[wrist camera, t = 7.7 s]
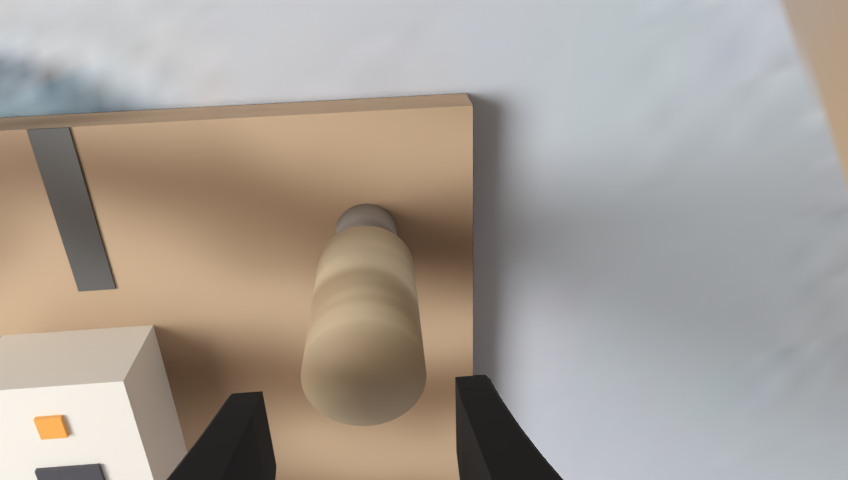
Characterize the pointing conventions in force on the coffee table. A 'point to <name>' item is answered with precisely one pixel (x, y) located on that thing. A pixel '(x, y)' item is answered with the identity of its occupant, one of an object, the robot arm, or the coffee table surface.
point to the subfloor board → (246, 253)
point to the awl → (364, 324)
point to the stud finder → (87, 407)
